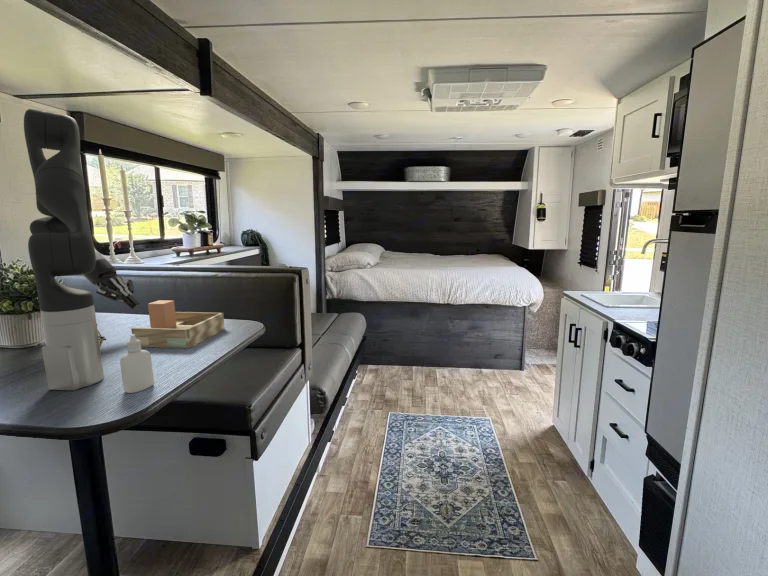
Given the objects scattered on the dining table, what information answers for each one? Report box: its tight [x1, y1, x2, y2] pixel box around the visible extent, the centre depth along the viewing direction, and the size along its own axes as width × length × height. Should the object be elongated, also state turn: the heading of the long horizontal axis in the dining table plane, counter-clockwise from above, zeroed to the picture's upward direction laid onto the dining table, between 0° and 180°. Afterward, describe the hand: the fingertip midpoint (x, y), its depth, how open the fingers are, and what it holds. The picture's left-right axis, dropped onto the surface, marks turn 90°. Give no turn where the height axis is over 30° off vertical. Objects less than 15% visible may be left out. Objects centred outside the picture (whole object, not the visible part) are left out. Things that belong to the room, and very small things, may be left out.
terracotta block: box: [147, 299, 177, 329], centre depth 122 cm, size 5×5×8 cm
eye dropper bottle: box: [119, 334, 155, 394], centre depth 85 cm, size 4×6×12 cm
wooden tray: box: [131, 311, 225, 350], centre depth 122 cm, size 20×17×6 cm
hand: (136, 306), depth 123 cm, fingers closed
